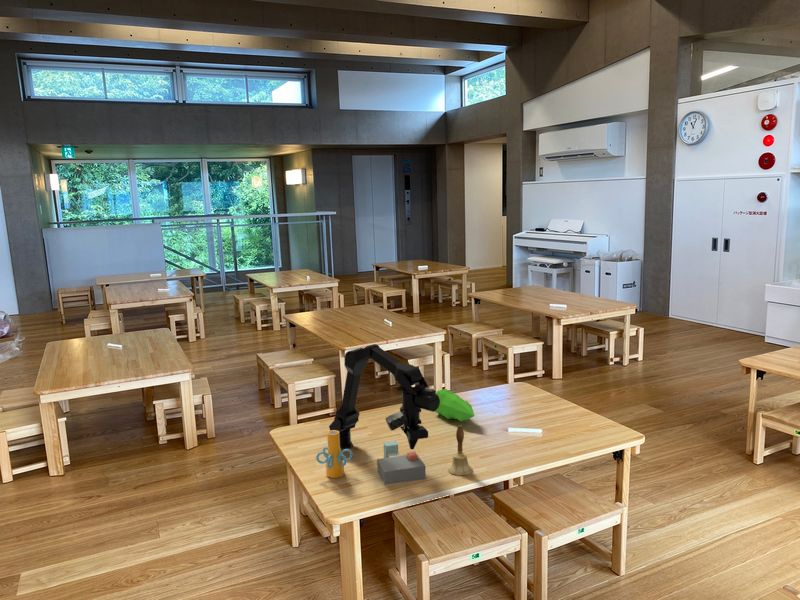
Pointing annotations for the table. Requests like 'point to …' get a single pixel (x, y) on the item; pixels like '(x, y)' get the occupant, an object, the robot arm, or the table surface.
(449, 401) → the decorative tree
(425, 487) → the table surface
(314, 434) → the table surface
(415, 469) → the housing
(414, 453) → the plunger
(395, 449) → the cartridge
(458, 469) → the hand bell
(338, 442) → the orange vase with handles
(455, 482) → the table surface
